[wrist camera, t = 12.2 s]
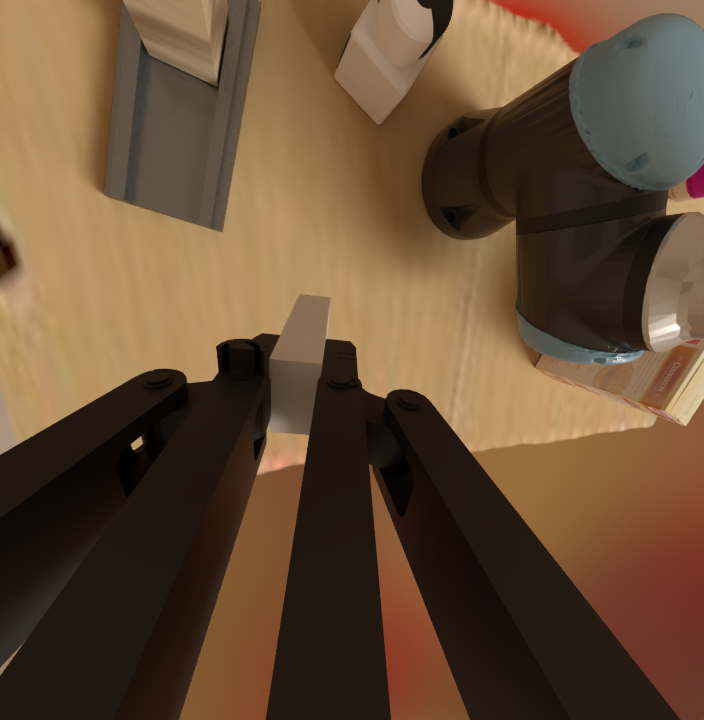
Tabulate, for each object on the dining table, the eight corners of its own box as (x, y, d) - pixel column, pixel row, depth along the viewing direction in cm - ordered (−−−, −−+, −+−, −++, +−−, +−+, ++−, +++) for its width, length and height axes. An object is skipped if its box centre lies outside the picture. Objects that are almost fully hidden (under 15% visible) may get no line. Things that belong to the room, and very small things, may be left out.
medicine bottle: (366, 20, 34) (421, -101, 23) (410, 75, 36) (479, -9, 25) (331, 77, 34) (369, -15, 23) (378, 127, 37) (431, 66, 26)
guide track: (222, 232, 35) (220, 229, 32) (107, 197, 31) (96, 191, 29) (260, 10, 31) (261, -11, 28) (133, -64, 27) (121, -95, 24)
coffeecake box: (554, 380, 59) (686, 428, 41) (532, 367, 56) (664, 412, 38) (596, 311, 57) (752, 330, 39) (575, 294, 54) (734, 305, 36)
